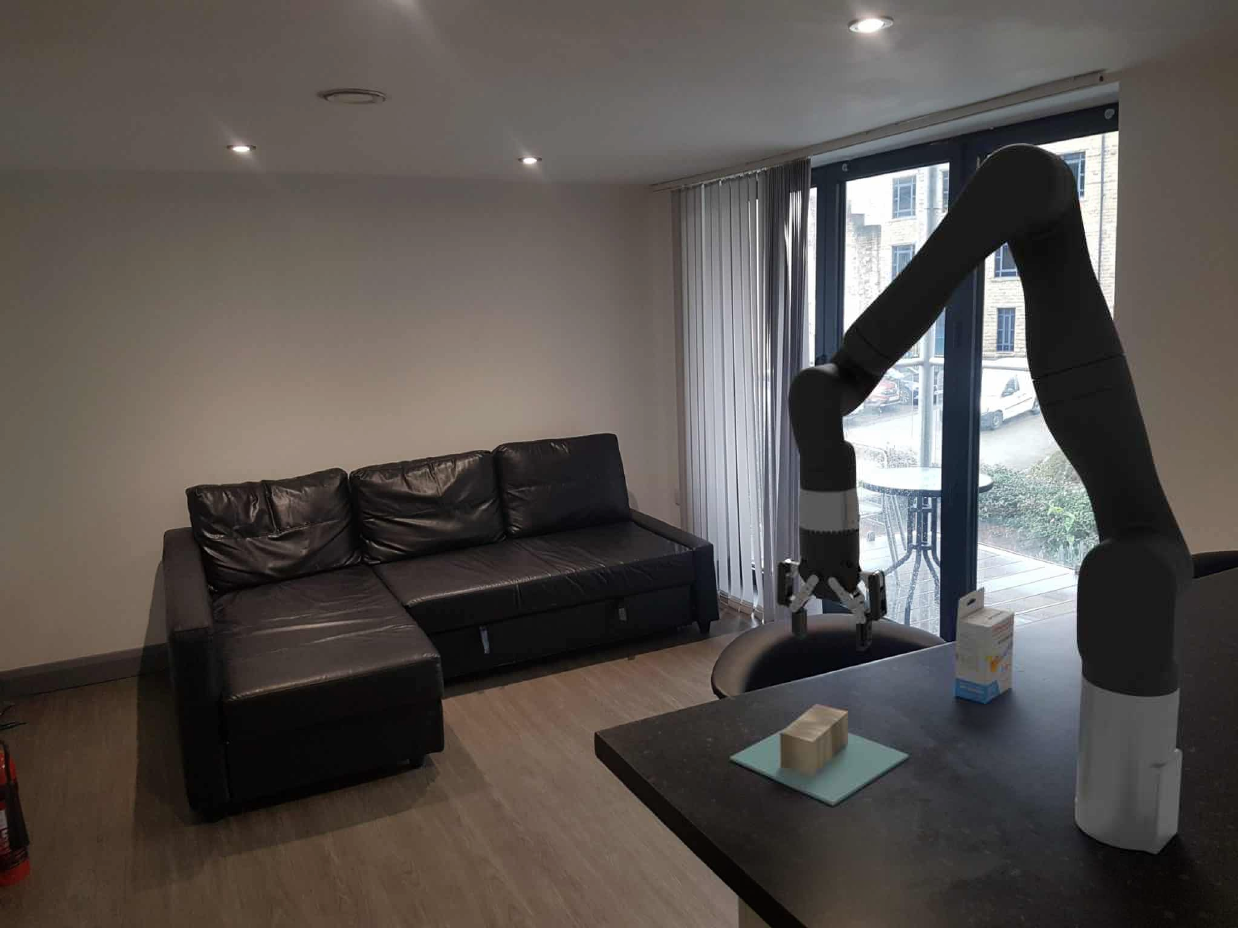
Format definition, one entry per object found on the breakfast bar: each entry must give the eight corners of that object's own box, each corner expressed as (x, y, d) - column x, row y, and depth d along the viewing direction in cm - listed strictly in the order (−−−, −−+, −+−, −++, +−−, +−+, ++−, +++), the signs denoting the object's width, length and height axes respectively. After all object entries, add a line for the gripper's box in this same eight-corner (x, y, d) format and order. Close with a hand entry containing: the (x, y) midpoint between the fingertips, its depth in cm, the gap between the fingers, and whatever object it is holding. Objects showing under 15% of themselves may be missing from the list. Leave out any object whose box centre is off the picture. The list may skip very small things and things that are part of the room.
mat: (908, 757, 121) (908, 754, 121) (833, 805, 111) (833, 802, 111) (806, 719, 133) (806, 716, 133) (730, 759, 123) (730, 756, 123)
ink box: (987, 705, 135) (989, 606, 132) (953, 696, 139) (955, 599, 136) (1013, 686, 141) (1016, 591, 138) (980, 678, 144) (983, 585, 142)
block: (847, 711, 124) (812, 741, 116) (847, 743, 125) (813, 775, 117) (816, 703, 127) (780, 732, 119) (816, 735, 128) (780, 765, 120)
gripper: (764, 522, 122) (768, 642, 125) (870, 533, 114) (872, 662, 116) (792, 510, 128) (795, 625, 131) (894, 520, 119) (895, 643, 122)
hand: (831, 643), depth 123 cm, fingers open, 8 cm apart
